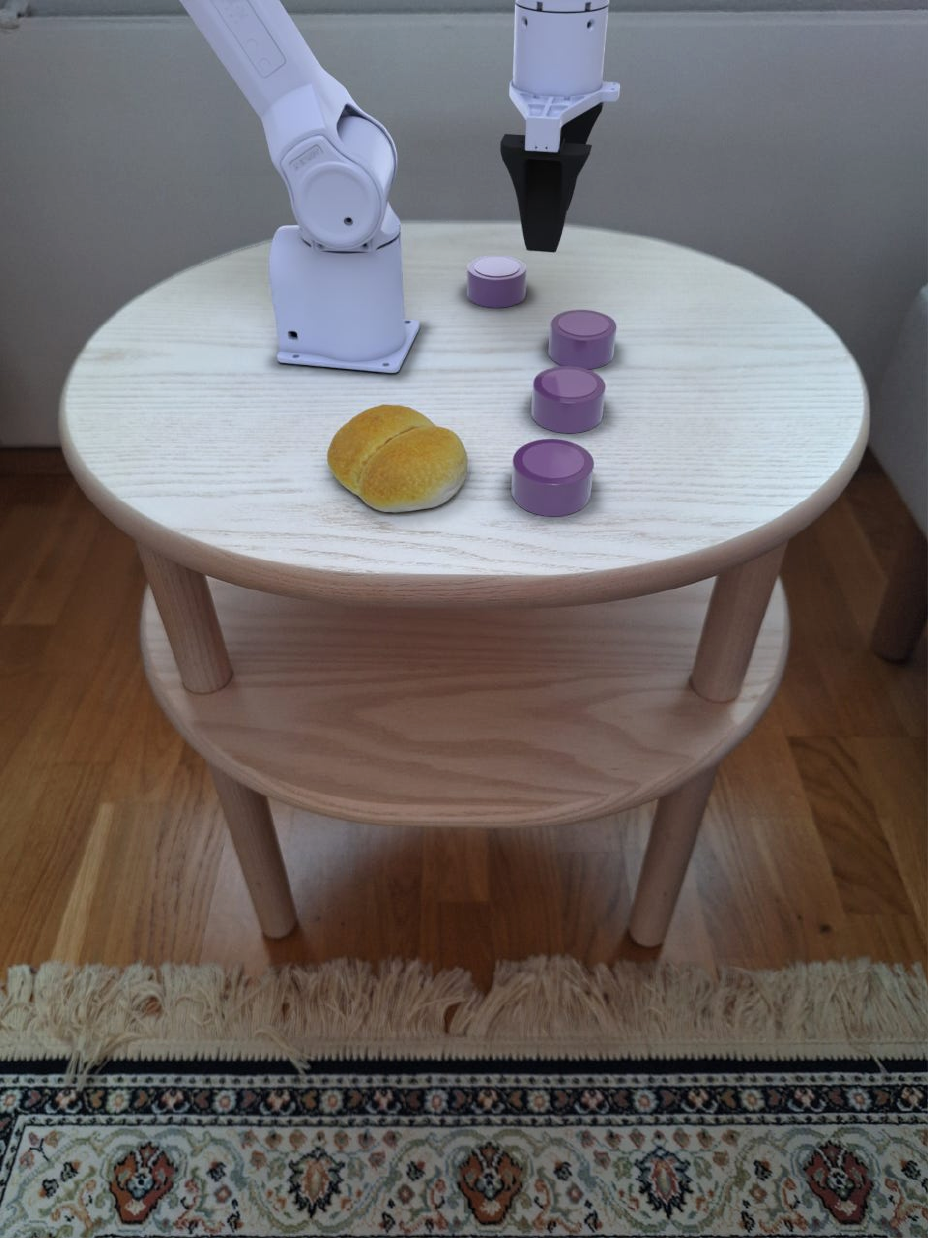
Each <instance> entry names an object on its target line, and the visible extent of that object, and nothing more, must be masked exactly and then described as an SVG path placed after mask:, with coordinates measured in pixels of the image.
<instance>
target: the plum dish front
mask: <svg viewBox="0 0 928 1238" xmlns="http://www.w3.org/2000/svg"><path fill="white" fill-rule="evenodd" d="M511 465H512V468H511V469H512V470H511V492H510V493H511V496H512V498H513V500H514V502H515V503H516V504H517V505H518V506H519V507H520V508H521V509H523V510H525V511H527V512H529V513H532V514H535V515H539V516H544V517H563V516H568V515H571V514H575V513H577V512H579V511H580V510H582V509H583V508H585V507H586V506H587V505H588V503H589V501H590V500H591V495H592V494H591V493H592V485H593V478H594V477H593V476H594V469H595V468H594V467H595V462H594V457H593V456H592V455H591V453H590V452H589V451H588V450H587V449H586V448H584V447H583V446H581V445H579V443H578V444H577V443H575V442H572V441H568V440H565V439H559V438H544V439H543V438H542V439H536V440H532V441H530V442H527V443H525V444H523V445H521V447H519V448H518V449H517V450H516V451H515V452H514V454H513V456H512V464H511Z"/></svg>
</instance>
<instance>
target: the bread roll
mask: <svg viewBox="0 0 928 1238" xmlns="http://www.w3.org/2000/svg"><path fill="white" fill-rule="evenodd" d="M326 456H327V457H326V460H327V461H326V462H327V464H328V467H329V470H330V471H331V473H332V475H333V476H334V478H335V479H336V480H337V481H338V482H339V483H340V484H341V485H342V486H343V487H344V488H345V489H346V490H348V491H350V492H351V493H352V494H353V495H355V496H358V497H359V498H360V499H361V500H362V502H364V503H365V504H366V505H367V506H369V507H371V508H373V509H374V510H377V511H380V512H383V513H395V514H396V513H403V512H412V511H418V510H425V509H433V508H435V507H438V506H440V505H442V504H444V503H446V502H448V501H449V500H450V499H451V498H452V497H454V495H456V494H457V493H458V491H459V490H460V489H461V487H462V485H463V484H464V483H465V480H466V476H467V473H468V461H469V460H468V454H467V451H466V449H465V446H464V444H463V441H462V439H461V438H460V437H459V435H458V434H457V433H456V432H454V431H453V430H451V429H449V428H446V427H443V426H439V425H438V426H437V425H436V424H435V423H434V422H433V421H432V420H431V419H430V418H428V417H427V416H426V415H424V414H423V413H422V412H419V411H418V410H415V409H414V408H411V407H409V406H405V405H400V404H398V405H397V404H381V405H376V406H374V407H370V408H367V409H365V410H363V411H361V412H360V413H358V414H356V415H355V416H353V417H352V418H351V419H350V420H349V421H347V422H346V423H344V424H343V426H342V427H340V428H339V429H338V430H337V431H336V432H335V434H334V435H333V436H332V438H331V441H330V444H329V446H328V449H327V455H326Z"/></svg>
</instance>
